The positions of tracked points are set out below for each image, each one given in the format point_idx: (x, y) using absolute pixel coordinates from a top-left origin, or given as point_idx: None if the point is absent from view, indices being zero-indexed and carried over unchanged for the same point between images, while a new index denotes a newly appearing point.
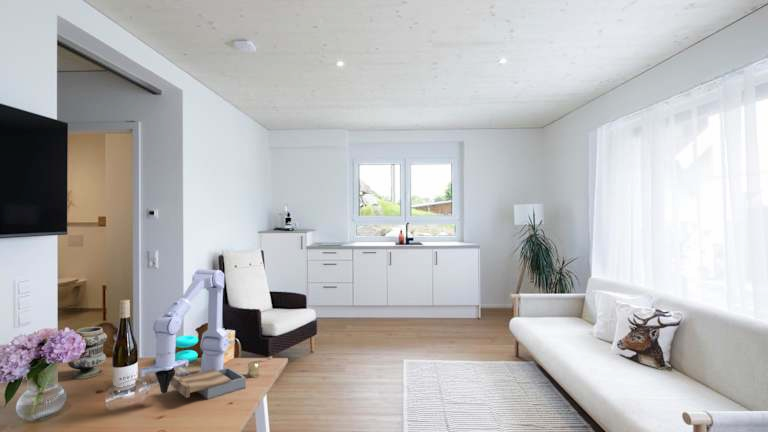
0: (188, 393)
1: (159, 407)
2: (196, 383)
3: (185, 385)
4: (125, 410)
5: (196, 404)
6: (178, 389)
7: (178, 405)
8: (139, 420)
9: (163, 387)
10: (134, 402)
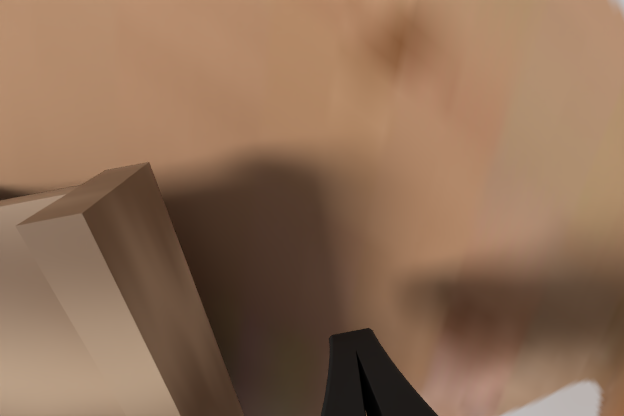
0: (100, 182)
1: (370, 239)
2: (4, 386)
3: (103, 300)
4: (553, 300)
5: (78, 135)
6: (216, 365)
7: (235, 200)
8: (550, 81)
9: (390, 373)
10: (477, 379)
